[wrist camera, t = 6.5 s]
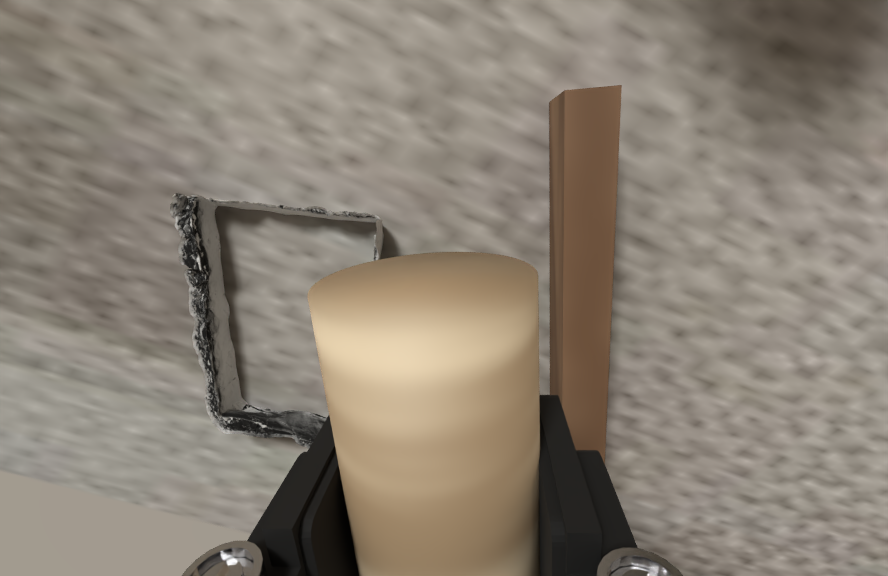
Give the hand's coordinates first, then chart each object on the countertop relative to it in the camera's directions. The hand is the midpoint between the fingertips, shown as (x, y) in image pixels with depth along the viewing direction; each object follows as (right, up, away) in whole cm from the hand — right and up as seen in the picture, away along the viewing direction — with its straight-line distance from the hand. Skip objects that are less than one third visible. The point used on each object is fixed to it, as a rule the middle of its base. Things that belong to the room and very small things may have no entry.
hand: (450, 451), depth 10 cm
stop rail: (+6, +4, +11) cm, 13 cm away
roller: (0, 0, 0) cm, 0 cm away
